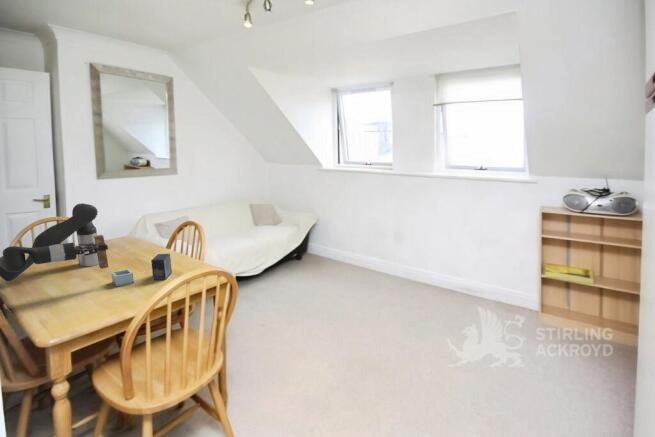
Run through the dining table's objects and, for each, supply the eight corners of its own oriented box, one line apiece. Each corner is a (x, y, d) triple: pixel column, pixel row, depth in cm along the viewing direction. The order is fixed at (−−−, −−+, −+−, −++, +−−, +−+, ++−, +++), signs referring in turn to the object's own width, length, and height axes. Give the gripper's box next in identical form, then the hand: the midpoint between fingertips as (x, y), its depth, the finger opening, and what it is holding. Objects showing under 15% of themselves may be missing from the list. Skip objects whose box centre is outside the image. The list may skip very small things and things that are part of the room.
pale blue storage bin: (116, 286, 186) (115, 276, 185) (112, 282, 192) (111, 272, 191) (133, 283, 191) (132, 273, 190) (129, 278, 197) (128, 269, 196)
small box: (159, 273, 205) (157, 253, 203) (172, 272, 206) (170, 253, 204) (152, 280, 195) (150, 259, 193) (166, 280, 196) (164, 259, 194)
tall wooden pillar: (100, 268, 184) (95, 237, 180) (99, 267, 186) (94, 236, 183) (108, 267, 186) (103, 235, 182) (107, 265, 188) (101, 234, 184)
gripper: (61, 257, 180) (104, 250, 191) (65, 264, 170) (110, 257, 181) (59, 240, 179) (102, 235, 190) (63, 247, 168) (109, 241, 179)
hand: (106, 246), depth 185 cm, fingers closed on tall wooden pillar, 3 cm apart
